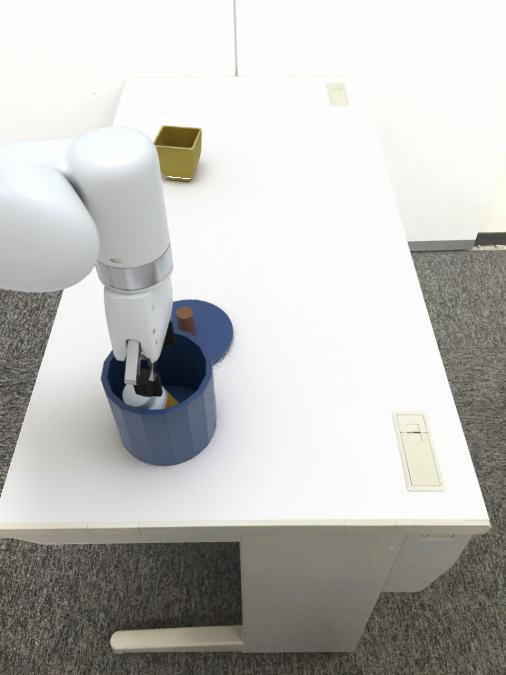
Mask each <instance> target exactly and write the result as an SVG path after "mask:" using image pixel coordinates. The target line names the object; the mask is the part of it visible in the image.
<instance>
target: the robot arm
mask: <svg viewBox="0 0 506 675" xmlns="http://www.w3.org/2000/svg"><path fill="white" fill-rule="evenodd" d="M153 142H154V141H153V140H152V139H151V138H150V137H149V136H148V135H147V134H145V133H144V132H142V131H141V130H138V129H136V128H133V127H129V126H124V125H109V126H101V127H98V128H97V127H96V128H94V129H93V128H92V129H90V130H88V131H86V132H84V133H82V134H80V135H79V136H75V137H65V138H52V139H51V138H50V139H49V138H48V139H31V140H30V139H29V140H28V139H27V140H16V141H7V142H4V143H3V142H2V143H0V289H2V290H7V291H13V292H21V293H41V294H43V293H54V292H58V291H63V290H66V289H69V288H71V287H74V286H76V285H77V284H79V283H81V282H82V281H83V280H85V278H87V277H88V276H89V275H90V274H91V273H92V271H93V269H94V268H95V270H96V273H97V276H98V277H97V278H98V279H99V281H100V283H101V284H102V285H103V286H104V287H103V304H104V305H103V306H104V313H105V320H106V325H107V331H108V336H109V340H110V345H111V348H112V349H113V353H114V356H115V358H116V359H117V360H119V361H124V360H125V358H126V369H125V384H131V385H133V387H134V390H135V393H136V394H137V395H141V396H143V397H152V396H155V397H161V396H162V393H163V390H162V385H161V380H160V375H159V373H157V372H156V360H158V358H159V356H160V353H161V350H162V346H163V345H166V346H173V345H175V334H174V328H173V322H171V317H172V306H173V302H174V295H173V294H174V293H173V285H172V279H171V277H172V274H173V271H174V258H173V253H172V245H171V238H170V231H169V230H170V229H169V223H168V215H167V209H166V208H167V207H166V202H165V194H164V185H163V179H162V172H161V171H160V164H159V158H158V153H157V150H156V147H155V145H154V143H153ZM112 349H111V350H112ZM141 351H142V352H141ZM126 355H127V357H126ZM141 361H148V367H149V370H148V369H140V362H141Z"/></svg>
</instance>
